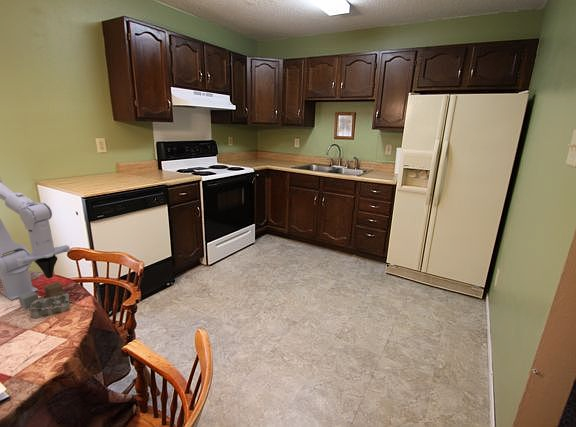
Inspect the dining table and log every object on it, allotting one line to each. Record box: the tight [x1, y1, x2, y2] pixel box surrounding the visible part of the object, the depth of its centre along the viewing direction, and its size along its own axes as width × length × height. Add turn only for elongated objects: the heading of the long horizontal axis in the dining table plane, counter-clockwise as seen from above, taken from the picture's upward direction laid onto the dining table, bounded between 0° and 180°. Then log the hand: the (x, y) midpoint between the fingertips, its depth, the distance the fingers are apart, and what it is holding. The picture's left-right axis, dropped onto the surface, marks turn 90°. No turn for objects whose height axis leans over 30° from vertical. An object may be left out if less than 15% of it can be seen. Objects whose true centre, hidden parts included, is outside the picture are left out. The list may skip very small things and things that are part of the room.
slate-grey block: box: [18, 291, 40, 310], centre depth 106 cm, size 4×4×4 cm
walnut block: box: [43, 281, 65, 298], centre depth 112 cm, size 4×4×4 cm
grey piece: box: [28, 292, 70, 319], centre depth 103 cm, size 11×8×4 cm
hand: (49, 277), depth 106 cm, fingers closed
